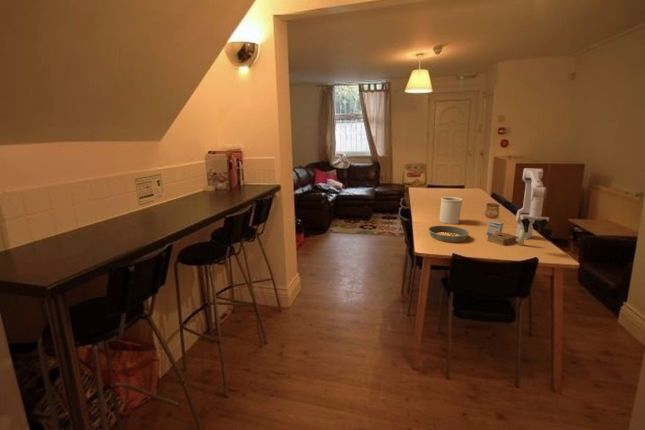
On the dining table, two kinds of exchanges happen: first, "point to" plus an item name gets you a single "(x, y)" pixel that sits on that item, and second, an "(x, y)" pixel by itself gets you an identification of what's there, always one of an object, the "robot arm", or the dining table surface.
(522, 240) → the peg
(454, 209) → the utensil holder
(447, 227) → the cake pan
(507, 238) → the hole block
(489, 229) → the medicine box
